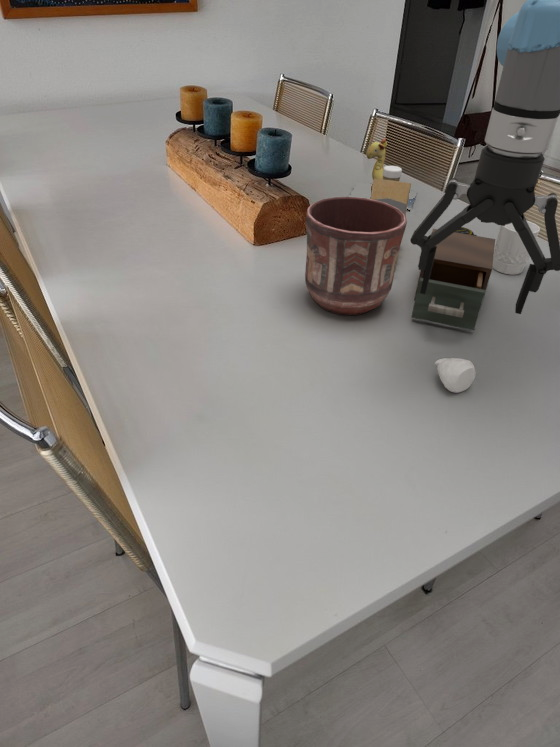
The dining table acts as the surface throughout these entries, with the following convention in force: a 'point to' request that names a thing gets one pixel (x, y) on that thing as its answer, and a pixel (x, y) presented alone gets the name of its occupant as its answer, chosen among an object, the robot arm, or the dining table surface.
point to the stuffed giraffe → (380, 162)
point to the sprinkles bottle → (392, 173)
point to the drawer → (450, 296)
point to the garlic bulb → (456, 373)
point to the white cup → (511, 250)
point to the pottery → (352, 252)
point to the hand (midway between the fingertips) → (469, 299)
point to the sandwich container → (391, 194)
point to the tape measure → (465, 231)
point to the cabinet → (466, 254)
